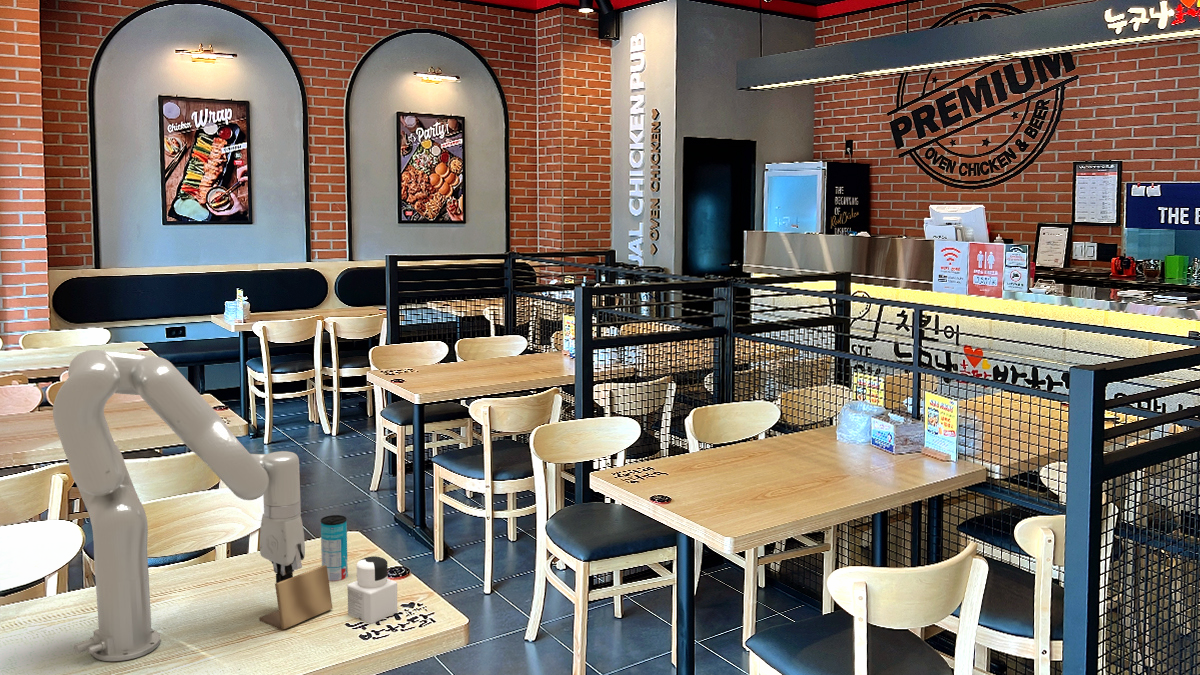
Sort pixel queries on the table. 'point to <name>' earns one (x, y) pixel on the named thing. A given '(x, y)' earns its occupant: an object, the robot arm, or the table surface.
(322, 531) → the beverage can
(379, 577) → the container
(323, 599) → the oak plank
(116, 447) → the robot arm
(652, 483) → the table surface
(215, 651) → the table surface
